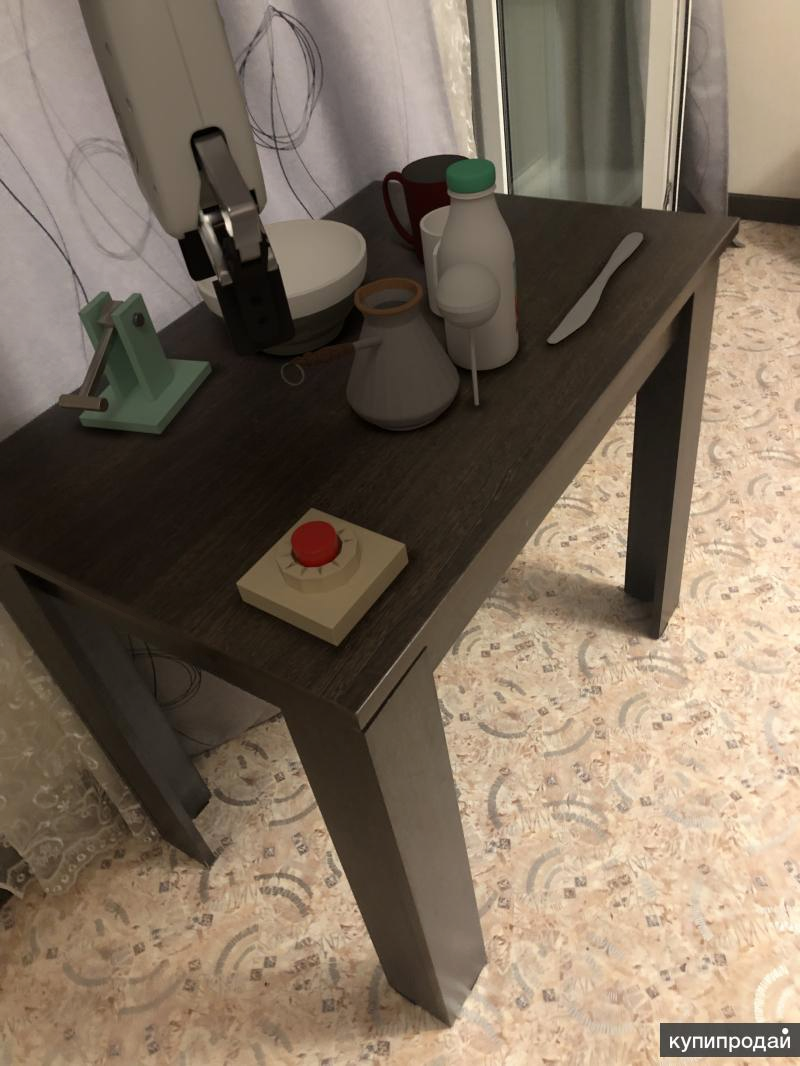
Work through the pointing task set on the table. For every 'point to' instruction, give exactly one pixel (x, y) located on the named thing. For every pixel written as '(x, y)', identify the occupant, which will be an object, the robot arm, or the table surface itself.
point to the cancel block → (325, 579)
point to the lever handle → (96, 366)
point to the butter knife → (595, 289)
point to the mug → (420, 193)
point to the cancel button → (315, 544)
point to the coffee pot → (393, 359)
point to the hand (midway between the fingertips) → (240, 306)
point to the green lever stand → (139, 371)
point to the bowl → (311, 279)
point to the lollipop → (468, 302)
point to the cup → (433, 250)
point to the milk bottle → (480, 262)
